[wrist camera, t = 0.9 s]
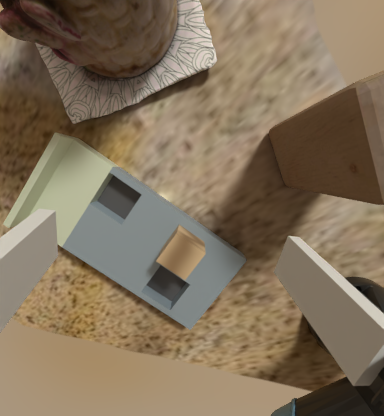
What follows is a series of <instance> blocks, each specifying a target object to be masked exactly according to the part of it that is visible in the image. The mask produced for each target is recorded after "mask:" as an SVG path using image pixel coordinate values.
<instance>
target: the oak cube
mask: <svg viewBox="0 0 384 416" xmlns="http://www.w3.org/2000/svg"><path fill="white" fill-rule="evenodd" d="M205 254H206V252H205V243H204V241H202V240H201V239H200V238H198V237H197V236H195V235H194V234H192V233H191V232H189V231H188V230H187V229H185V228H184V227H182V226H181V225H178V227H177V228H176V229H175V231H174V232H173V234H172V235H171V236H170V238H169V239H168V240H167V242H166V243H165V245H164V246H163V247H162V249H161V251H160V254H159V256H158V258H157V260H156V261H157V262H158V263H160V264H161V265H163V266H164V267H166V268H167V269H169V270H170V271H172V272H173V273H175V274H176V275H178V276H179V277H181V278H182V279H184V280H186V279H187V277H188V276H189V275H190V273H191V272H192V271H193V270H194V268H195V267H196V266H197V264H198V263H199V262H200V260H201V259H202V258H203V257H204V255H205Z"/></svg>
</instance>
